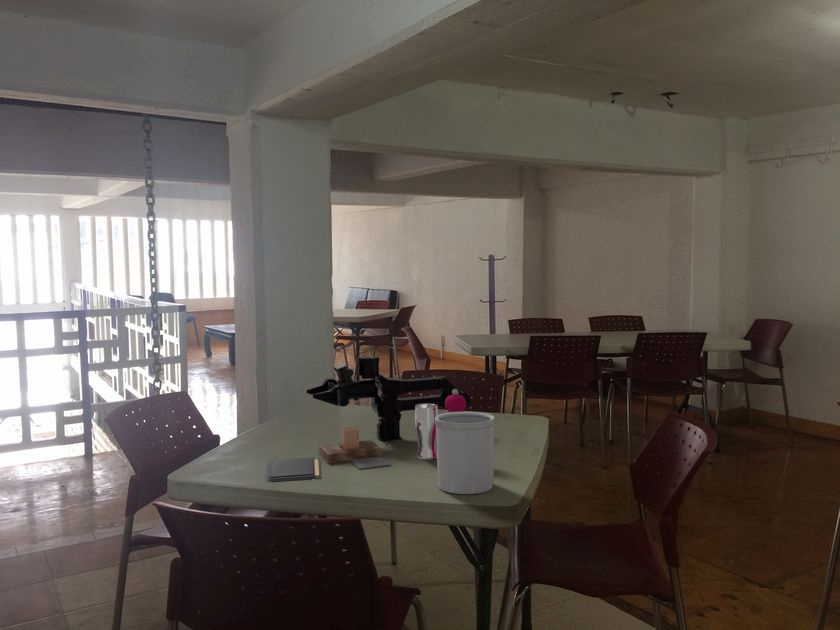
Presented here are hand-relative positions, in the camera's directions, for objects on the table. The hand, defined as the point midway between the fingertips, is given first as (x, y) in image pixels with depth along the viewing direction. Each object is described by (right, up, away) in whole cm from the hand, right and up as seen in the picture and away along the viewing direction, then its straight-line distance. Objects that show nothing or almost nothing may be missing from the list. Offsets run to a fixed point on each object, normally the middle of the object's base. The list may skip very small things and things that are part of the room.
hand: (309, 393), depth 214 cm
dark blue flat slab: (-1, -19, -24) cm, 30 cm away
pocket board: (+13, -17, -10) cm, 24 cm away
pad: (+20, -17, -19) cm, 32 cm away
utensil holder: (+45, -19, -41) cm, 64 cm away
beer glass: (+36, -17, -13) cm, 42 cm away
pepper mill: (+44, -17, -15) cm, 50 cm away
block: (+13, -17, -10) cm, 24 cm away
